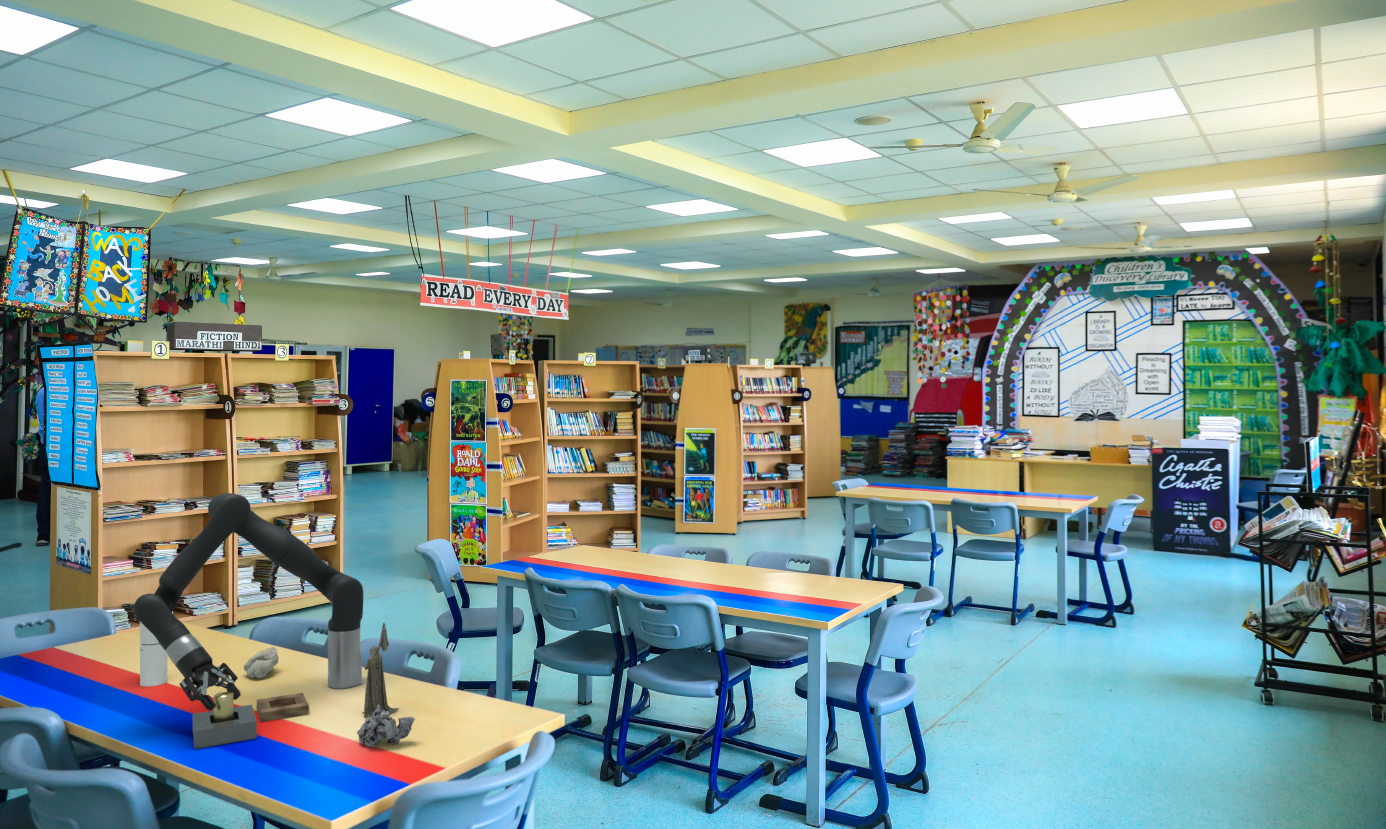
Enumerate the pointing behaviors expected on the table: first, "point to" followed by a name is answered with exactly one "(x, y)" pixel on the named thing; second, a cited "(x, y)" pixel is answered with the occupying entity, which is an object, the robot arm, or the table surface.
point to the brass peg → (223, 707)
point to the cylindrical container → (151, 659)
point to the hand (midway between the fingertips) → (225, 702)
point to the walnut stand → (282, 707)
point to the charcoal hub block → (224, 728)
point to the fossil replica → (261, 663)
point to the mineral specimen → (384, 728)
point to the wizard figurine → (376, 679)
